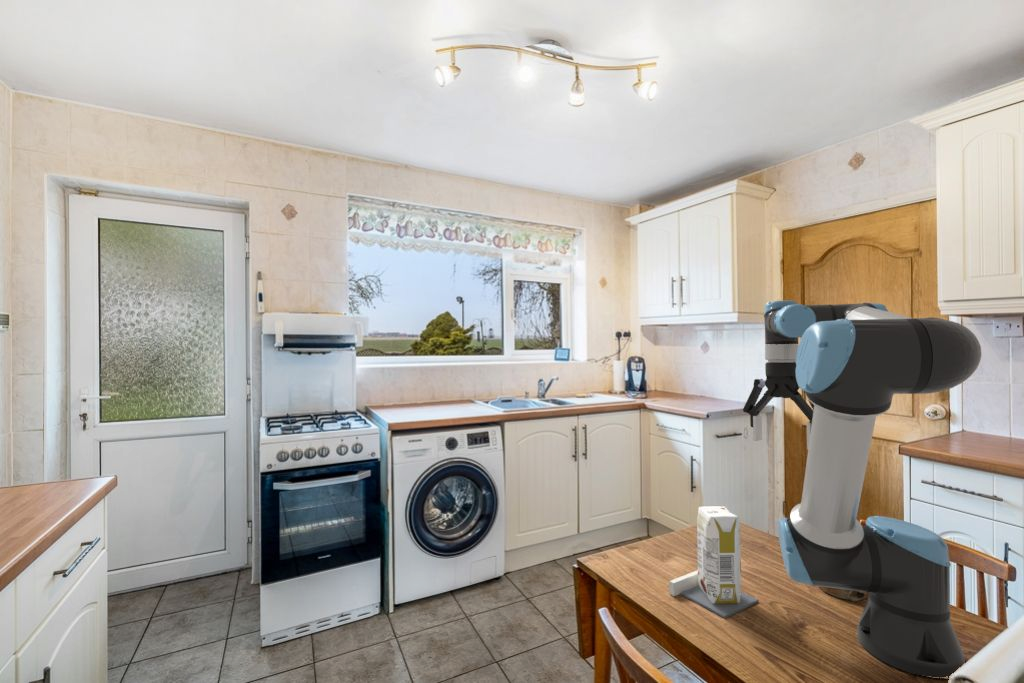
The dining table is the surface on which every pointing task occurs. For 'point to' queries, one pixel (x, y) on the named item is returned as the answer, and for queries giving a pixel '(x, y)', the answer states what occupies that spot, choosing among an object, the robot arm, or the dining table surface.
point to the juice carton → (719, 554)
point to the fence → (683, 583)
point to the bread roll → (845, 593)
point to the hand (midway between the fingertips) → (783, 444)
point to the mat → (719, 609)
